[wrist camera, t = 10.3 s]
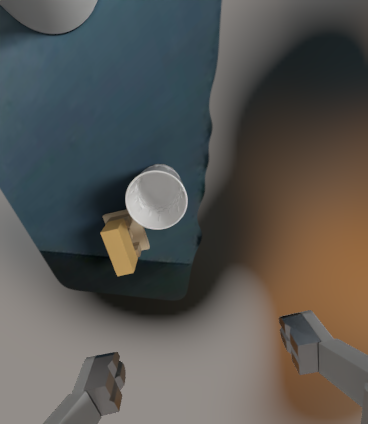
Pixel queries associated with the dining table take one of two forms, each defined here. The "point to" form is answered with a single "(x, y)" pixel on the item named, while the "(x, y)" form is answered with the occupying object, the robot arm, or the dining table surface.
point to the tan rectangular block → (119, 246)
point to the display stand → (131, 230)
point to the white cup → (156, 197)
